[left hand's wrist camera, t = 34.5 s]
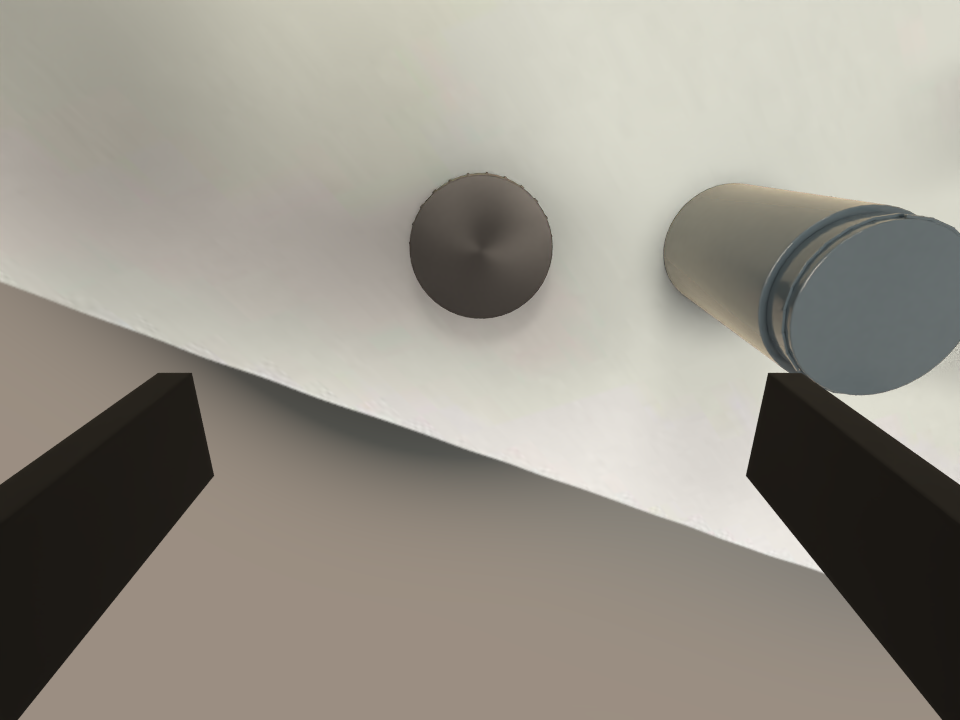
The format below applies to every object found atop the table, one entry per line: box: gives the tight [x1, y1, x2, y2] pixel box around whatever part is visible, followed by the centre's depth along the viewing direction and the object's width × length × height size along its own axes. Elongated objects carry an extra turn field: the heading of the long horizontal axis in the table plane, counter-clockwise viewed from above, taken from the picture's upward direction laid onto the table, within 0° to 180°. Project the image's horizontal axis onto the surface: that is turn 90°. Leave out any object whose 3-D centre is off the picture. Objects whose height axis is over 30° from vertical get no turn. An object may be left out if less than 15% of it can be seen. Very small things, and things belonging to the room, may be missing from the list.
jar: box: [664, 183, 960, 395], centre depth 30 cm, size 8×8×16 cm
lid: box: [409, 172, 552, 319], centre depth 36 cm, size 9×9×2 cm
